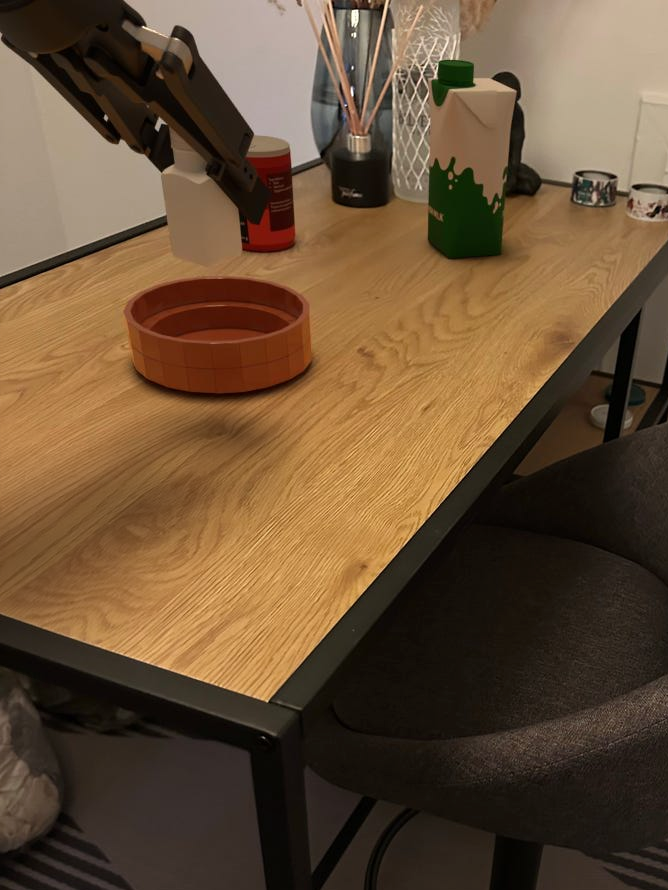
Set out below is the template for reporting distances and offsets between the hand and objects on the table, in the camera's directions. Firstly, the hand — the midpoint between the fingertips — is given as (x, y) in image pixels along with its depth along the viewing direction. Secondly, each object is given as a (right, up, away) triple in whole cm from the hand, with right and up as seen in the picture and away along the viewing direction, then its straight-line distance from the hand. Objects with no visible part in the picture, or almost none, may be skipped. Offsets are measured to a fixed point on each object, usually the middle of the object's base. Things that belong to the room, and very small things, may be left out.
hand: (233, 202), depth 71 cm
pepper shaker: (-2, -5, -1) cm, 5 cm away
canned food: (-8, +15, +43) cm, 46 cm away
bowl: (-5, -7, +16) cm, 19 cm away
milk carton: (+17, +15, +46) cm, 51 cm away
